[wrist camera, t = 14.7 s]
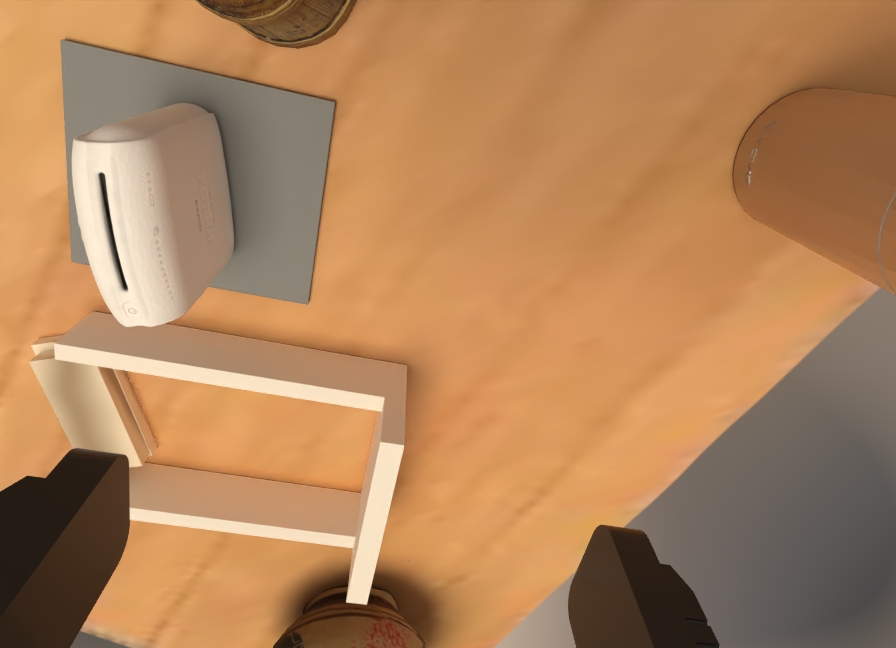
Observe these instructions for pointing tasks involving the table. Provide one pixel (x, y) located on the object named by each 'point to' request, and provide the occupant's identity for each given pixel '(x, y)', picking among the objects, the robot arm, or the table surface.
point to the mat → (245, 152)
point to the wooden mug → (285, 19)
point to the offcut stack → (93, 405)
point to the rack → (251, 499)
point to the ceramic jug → (350, 624)
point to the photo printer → (154, 211)
